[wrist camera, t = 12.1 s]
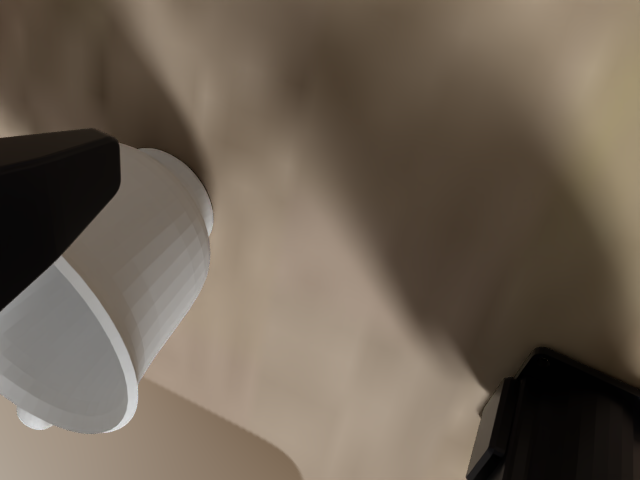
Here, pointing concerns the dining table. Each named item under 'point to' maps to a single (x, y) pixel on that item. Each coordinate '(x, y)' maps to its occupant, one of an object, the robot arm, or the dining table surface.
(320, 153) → the dining table surface
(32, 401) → the teacup
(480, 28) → the dining table surface
